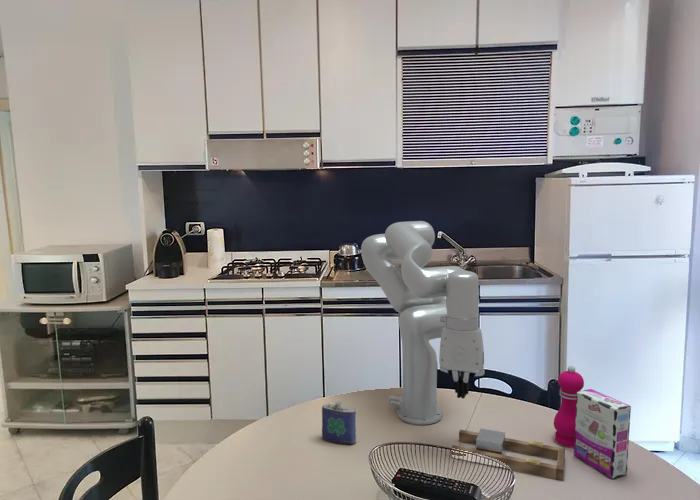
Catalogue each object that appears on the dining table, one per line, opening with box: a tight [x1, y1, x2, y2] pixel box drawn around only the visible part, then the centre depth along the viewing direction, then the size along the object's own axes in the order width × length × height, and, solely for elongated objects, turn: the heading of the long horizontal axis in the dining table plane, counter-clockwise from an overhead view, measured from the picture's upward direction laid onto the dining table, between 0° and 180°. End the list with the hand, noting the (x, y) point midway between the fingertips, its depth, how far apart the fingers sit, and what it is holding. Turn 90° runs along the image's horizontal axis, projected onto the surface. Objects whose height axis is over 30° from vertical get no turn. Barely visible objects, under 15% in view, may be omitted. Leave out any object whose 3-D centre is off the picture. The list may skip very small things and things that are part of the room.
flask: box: [321, 400, 357, 446], centre depth 134 cm, size 9×3×11 cm, turn 68°
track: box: [450, 429, 566, 481], centre depth 125 cm, size 25×10×3 cm, turn 66°
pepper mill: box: [553, 365, 585, 448], centre depth 132 cm, size 7×7×20 cm
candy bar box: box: [573, 388, 632, 480], centre depth 121 cm, size 11×5×16 cm, turn 23°
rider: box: [475, 427, 506, 455], centre depth 127 cm, size 6×6×5 cm
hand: (461, 396), depth 128 cm, fingers closed
